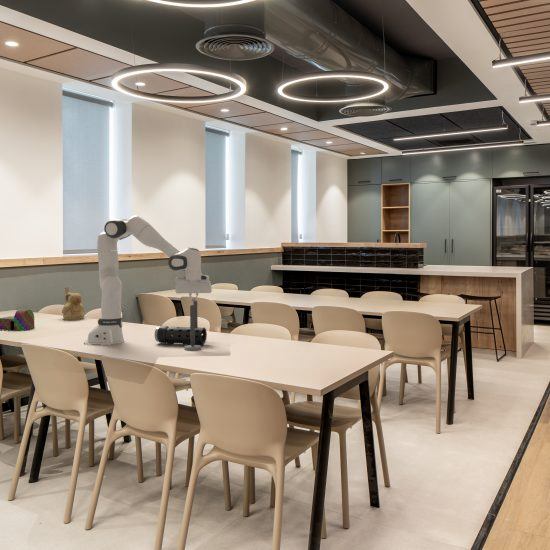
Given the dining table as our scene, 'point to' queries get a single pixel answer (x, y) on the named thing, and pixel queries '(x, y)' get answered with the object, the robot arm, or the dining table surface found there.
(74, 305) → the tan eared figurine
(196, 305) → the far cord post
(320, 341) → the dining table surface
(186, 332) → the muzzle brake
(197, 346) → the post
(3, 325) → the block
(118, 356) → the dining table surface
